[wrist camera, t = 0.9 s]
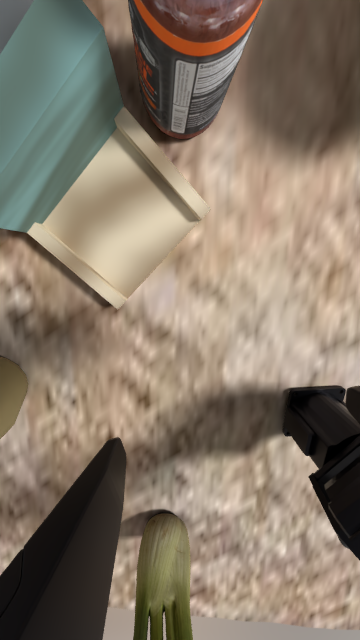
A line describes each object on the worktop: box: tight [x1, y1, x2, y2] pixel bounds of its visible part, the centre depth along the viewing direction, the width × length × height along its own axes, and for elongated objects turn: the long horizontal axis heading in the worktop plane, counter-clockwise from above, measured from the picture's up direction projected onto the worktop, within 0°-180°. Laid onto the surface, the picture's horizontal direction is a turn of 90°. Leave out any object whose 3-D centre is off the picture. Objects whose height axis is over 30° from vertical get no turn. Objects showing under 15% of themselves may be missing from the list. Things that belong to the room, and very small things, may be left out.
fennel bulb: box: [133, 513, 193, 640], centre depth 23 cm, size 6×5×12 cm
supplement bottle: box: [128, 0, 263, 139], centre depth 10 cm, size 6×6×11 cm
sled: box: [0, 0, 211, 309], centre depth 14 cm, size 11×11×7 cm
